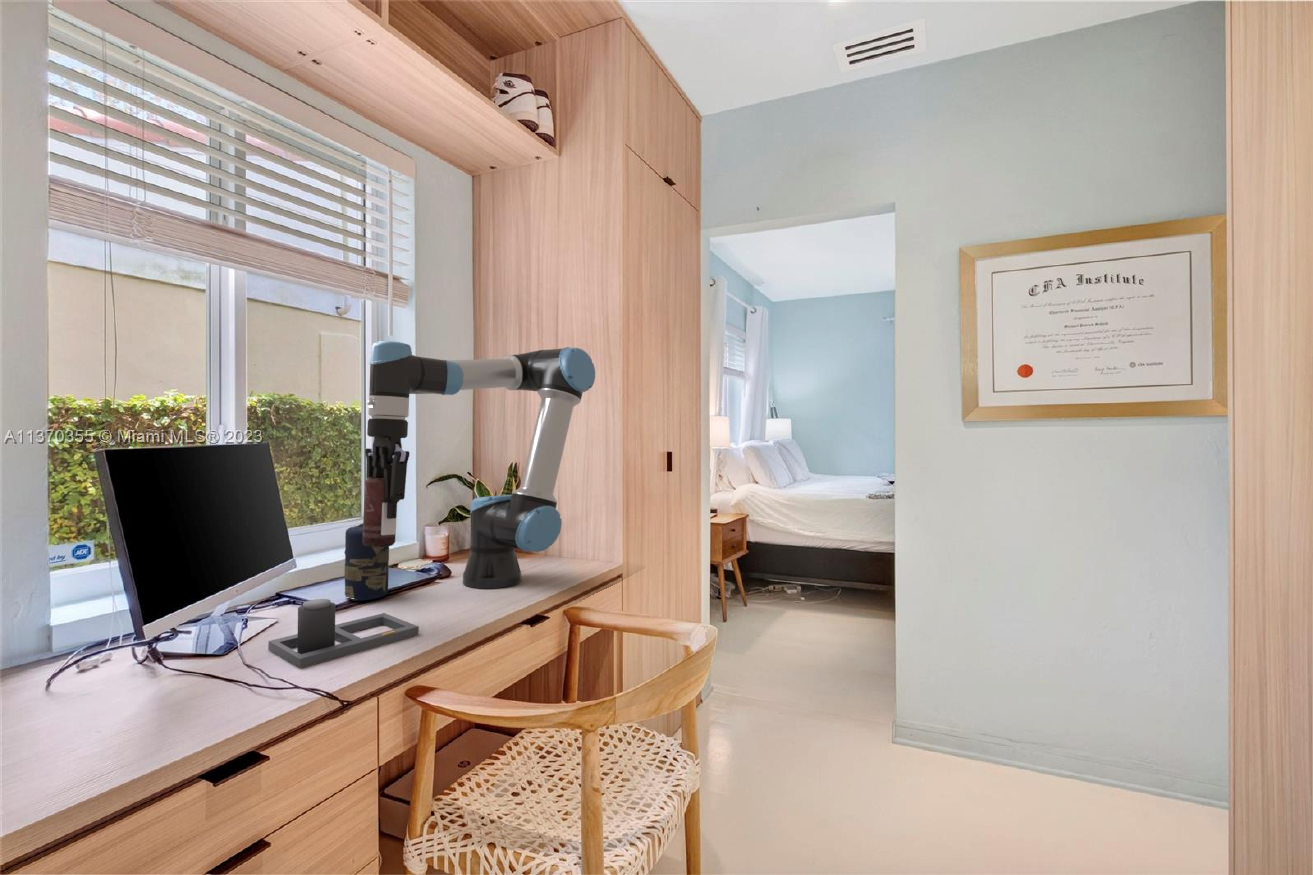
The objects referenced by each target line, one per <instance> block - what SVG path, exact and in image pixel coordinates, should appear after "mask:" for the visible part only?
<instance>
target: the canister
mask: <svg viewBox="0 0 1313 875" xmlns="http://www.w3.org/2000/svg"><path fill="white" fill-rule="evenodd" d="M344 538H345V545H344V547H345V548H344V552H343V553H344V596H345V597H346V598H347V597H349V598H354V599H357V600H356V601H370V600H377V599H380V598H382V597H384V596H386V595H387V594H388V591H389V573H390V572H389V569H390V568H389V565H390V564H389V561H390V546H387V547H366V546H364V545H363V543H362V541H363V523H361V524H357V525H354V526H350V527H349V528H347V529H346V530H345V537H344Z"/></svg>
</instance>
